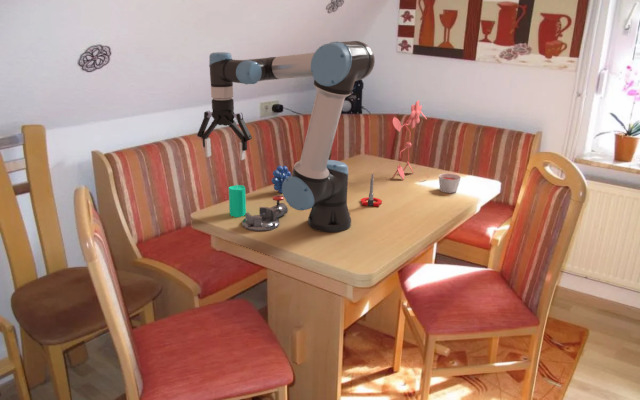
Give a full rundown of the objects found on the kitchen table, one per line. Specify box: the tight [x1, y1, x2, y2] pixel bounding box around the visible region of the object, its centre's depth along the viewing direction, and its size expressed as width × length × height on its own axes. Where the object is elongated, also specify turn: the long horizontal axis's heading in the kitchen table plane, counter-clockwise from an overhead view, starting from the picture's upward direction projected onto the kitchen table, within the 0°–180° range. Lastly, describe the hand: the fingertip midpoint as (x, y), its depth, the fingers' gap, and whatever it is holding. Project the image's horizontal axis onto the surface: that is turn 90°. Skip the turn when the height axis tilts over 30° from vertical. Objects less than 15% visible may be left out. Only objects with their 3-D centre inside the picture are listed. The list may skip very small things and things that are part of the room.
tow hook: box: [360, 173, 383, 208], centre depth 214 cm, size 8×13×9 cm
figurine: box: [386, 99, 429, 183], centre depth 243 cm, size 15×26×35 cm, turn 146°
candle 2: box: [438, 172, 461, 194], centre depth 231 cm, size 9×9×6 cm
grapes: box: [271, 165, 292, 194], centre depth 222 cm, size 12×7×12 cm, turn 145°
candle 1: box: [228, 184, 247, 218], centre depth 199 cm, size 6×6×12 cm
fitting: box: [241, 194, 289, 232], centre depth 193 cm, size 13×19×8 cm
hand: (225, 157), depth 197 cm, fingers open, 13 cm apart
